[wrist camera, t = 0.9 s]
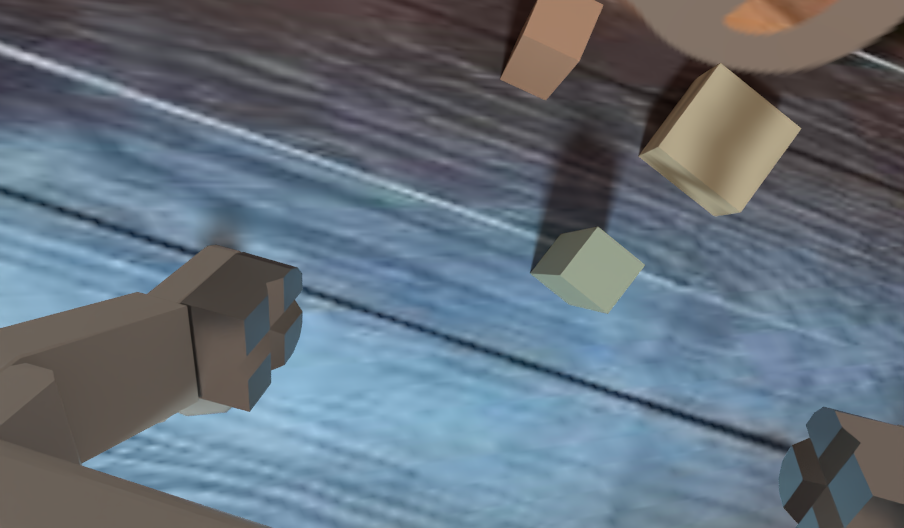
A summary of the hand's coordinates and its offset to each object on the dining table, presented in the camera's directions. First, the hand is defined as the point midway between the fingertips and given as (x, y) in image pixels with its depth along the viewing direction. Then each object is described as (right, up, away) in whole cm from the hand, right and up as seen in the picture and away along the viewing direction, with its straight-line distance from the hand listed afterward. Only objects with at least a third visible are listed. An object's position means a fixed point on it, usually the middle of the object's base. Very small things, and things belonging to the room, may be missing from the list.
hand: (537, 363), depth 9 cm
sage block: (+8, +1, +37) cm, 38 cm away
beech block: (+19, +11, +39) cm, 44 cm away
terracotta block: (+5, +17, +37) cm, 41 cm away
